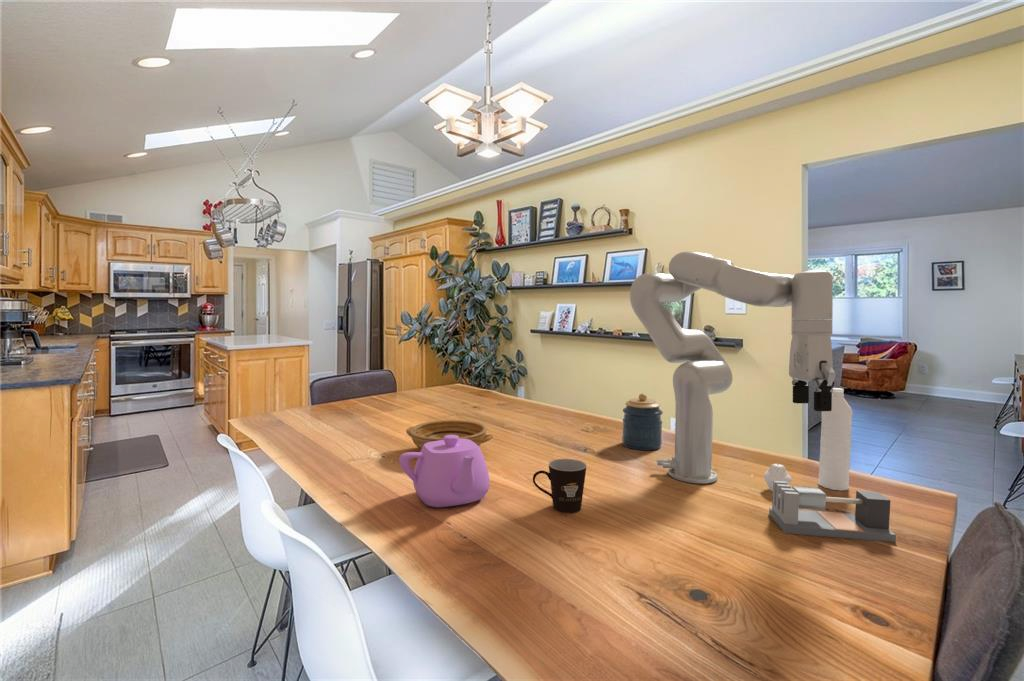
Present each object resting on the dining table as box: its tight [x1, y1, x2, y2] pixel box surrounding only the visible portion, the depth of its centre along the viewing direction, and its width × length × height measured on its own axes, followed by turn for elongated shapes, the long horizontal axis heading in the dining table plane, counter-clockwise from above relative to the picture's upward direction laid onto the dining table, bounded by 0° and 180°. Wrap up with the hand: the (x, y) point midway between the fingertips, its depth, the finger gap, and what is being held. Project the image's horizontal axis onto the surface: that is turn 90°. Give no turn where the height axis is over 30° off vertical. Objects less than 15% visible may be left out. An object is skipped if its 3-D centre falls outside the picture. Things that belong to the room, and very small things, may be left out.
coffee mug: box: [532, 458, 587, 514], centre depth 108 cm, size 12×9×10 cm
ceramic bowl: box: [406, 419, 494, 450], centre depth 148 cm, size 30×24×8 cm
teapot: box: [398, 435, 491, 509], centre depth 110 cm, size 23×21×15 cm
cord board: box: [768, 481, 897, 543], centre depth 98 cm, size 20×9×8 cm, turn 80°
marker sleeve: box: [791, 485, 827, 511], centre depth 99 cm, size 5×4×3 cm
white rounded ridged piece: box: [763, 463, 793, 492], centre depth 118 cm, size 6×6×7 cm
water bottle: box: [818, 387, 853, 492], centre depth 122 cm, size 9×6×25 cm
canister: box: [621, 393, 664, 451], centre depth 158 cm, size 13×13×18 cm
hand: (811, 406), depth 102 cm, fingers open, 9 cm apart
